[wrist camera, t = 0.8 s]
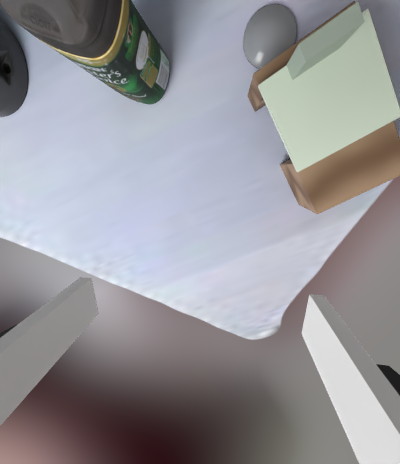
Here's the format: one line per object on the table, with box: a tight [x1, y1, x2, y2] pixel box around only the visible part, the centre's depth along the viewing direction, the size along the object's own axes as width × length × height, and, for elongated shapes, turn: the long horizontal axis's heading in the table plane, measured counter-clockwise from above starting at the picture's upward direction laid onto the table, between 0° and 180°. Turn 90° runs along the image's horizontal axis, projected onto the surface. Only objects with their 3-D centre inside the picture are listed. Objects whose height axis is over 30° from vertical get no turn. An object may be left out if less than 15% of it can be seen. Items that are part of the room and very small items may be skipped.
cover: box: [258, 2, 400, 172], centre depth 20 cm, size 11×12×5 cm
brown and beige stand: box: [248, 1, 400, 214], centre depth 27 cm, size 19×11×8 cm, turn 31°
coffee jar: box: [0, 0, 170, 104], centre depth 22 cm, size 10×8×19 cm
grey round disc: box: [243, 4, 297, 69], centre depth 27 cm, size 7×7×1 cm
